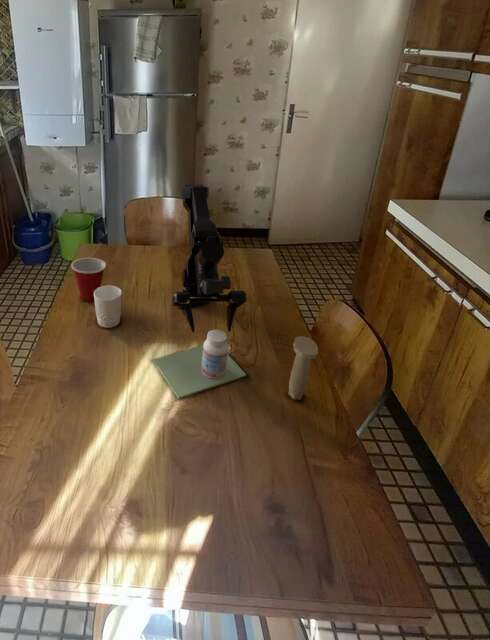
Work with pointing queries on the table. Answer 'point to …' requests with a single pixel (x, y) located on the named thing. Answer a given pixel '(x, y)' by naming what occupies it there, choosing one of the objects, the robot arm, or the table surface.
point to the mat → (193, 372)
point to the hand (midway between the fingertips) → (211, 332)
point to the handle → (301, 365)
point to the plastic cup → (88, 276)
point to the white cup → (108, 305)
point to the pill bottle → (215, 354)
